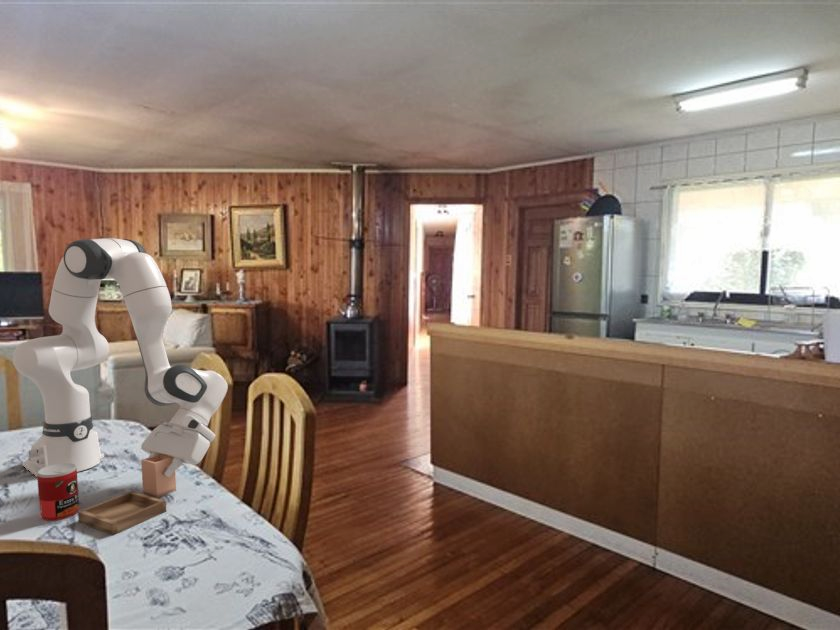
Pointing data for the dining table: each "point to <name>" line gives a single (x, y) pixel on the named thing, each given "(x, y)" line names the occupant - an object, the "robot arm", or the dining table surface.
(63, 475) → the canned food
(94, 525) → the tray
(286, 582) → the dining table surface
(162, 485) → the open rectangular container
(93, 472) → the dining table surface
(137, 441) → the dining table surface
